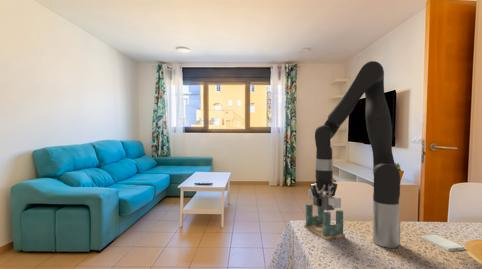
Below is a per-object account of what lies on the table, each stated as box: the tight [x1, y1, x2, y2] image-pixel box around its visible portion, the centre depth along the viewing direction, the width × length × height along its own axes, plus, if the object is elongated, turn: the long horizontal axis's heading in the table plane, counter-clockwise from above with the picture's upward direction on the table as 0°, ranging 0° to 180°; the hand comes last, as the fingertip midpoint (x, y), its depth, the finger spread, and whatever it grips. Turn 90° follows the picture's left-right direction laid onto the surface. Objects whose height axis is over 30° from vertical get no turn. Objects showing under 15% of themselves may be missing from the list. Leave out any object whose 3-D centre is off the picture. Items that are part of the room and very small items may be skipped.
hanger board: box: [304, 203, 346, 241], centre depth 117 cm, size 10×16×11 cm, turn 20°
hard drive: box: [419, 234, 465, 252], centre depth 105 cm, size 2×8×12 cm
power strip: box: [307, 188, 342, 212], centre depth 117 cm, size 4×19×6 cm, turn 20°
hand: (323, 205), depth 117 cm, fingers closed on power strip, 4 cm apart
